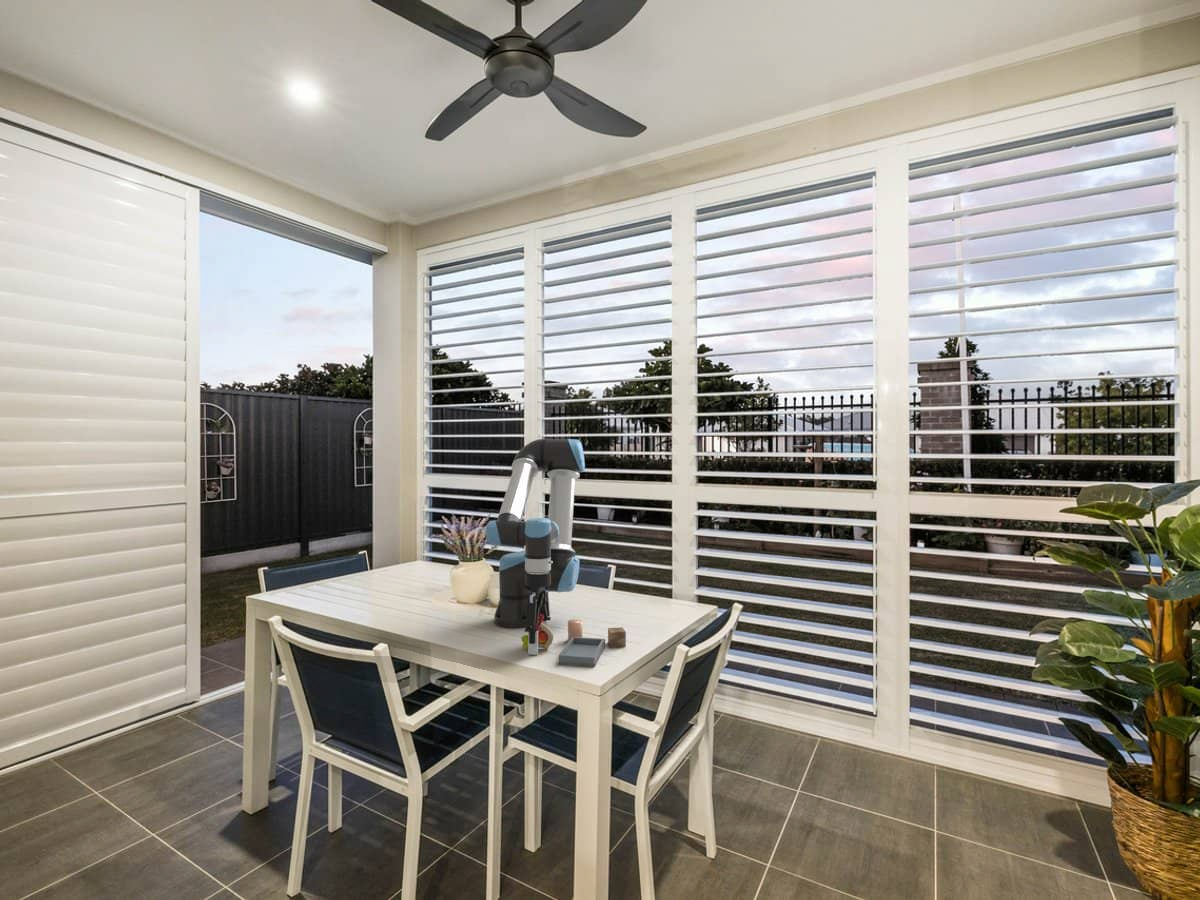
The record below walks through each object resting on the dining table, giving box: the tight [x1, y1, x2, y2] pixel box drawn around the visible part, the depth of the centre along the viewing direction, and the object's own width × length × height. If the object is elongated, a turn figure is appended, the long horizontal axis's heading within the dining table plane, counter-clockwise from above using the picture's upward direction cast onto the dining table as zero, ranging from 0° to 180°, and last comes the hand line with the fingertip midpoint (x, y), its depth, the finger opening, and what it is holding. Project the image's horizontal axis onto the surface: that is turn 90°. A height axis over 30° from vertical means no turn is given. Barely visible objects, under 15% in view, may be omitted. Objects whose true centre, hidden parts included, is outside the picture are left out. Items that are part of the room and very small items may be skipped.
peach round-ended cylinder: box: [567, 618, 583, 643], centre depth 181 cm, size 4×4×6 cm
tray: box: [558, 636, 606, 668], centre depth 168 cm, size 10×16×2 cm, turn 169°
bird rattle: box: [520, 613, 554, 651], centre depth 174 cm, size 6×11×9 cm
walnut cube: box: [607, 627, 627, 648], centre depth 177 cm, size 4×4×4 cm
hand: (538, 648), depth 174 cm, fingers open, 9 cm apart
